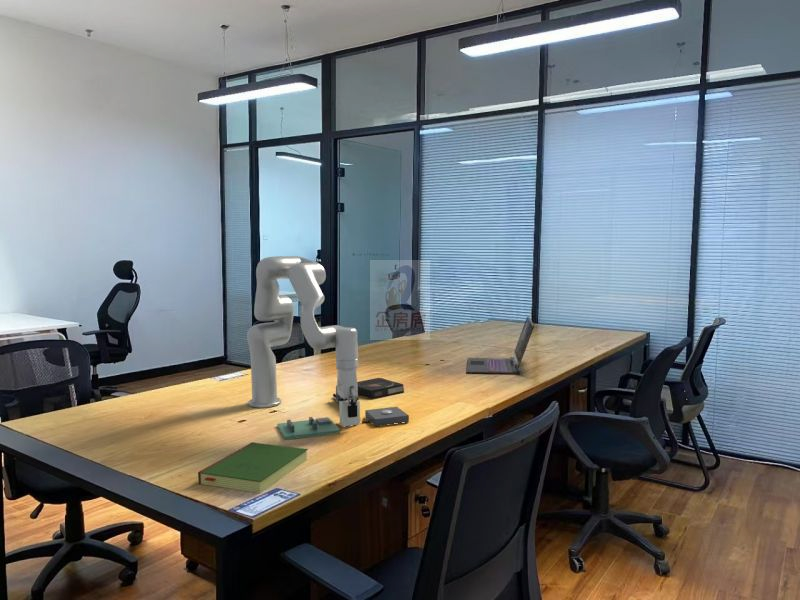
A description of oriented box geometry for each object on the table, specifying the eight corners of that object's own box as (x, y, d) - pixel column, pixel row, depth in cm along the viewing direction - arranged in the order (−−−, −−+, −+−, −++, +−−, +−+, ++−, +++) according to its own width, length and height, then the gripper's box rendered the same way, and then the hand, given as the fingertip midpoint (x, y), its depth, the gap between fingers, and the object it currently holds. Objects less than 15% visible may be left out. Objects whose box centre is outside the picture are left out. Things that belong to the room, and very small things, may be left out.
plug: (339, 423, 202) (339, 401, 201) (357, 421, 204) (357, 399, 203) (342, 427, 198) (342, 404, 197) (361, 424, 200) (360, 402, 199)
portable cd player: (372, 400, 233) (372, 390, 233) (348, 392, 246) (348, 383, 246) (404, 393, 244) (404, 384, 243) (379, 386, 257) (379, 377, 256)
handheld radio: (351, 414, 214) (329, 398, 236) (359, 413, 215) (337, 397, 238) (351, 396, 213) (330, 382, 236) (360, 395, 215) (338, 381, 237)
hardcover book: (252, 454, 174) (252, 442, 174) (308, 461, 168) (307, 448, 168) (196, 487, 151) (196, 473, 151) (258, 496, 145) (258, 482, 144)
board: (277, 426, 200) (277, 417, 199) (328, 420, 206) (328, 412, 206) (284, 439, 186) (284, 430, 185) (339, 432, 192) (339, 423, 192)
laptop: (468, 360, 312) (467, 316, 310) (528, 361, 308) (528, 316, 306) (466, 375, 278) (466, 325, 276) (534, 376, 274) (534, 325, 271)
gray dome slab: (356, 418, 208) (356, 410, 208) (396, 413, 213) (396, 405, 213) (366, 427, 197) (366, 419, 196) (408, 422, 202) (408, 414, 202)
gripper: (330, 360, 205) (331, 408, 207) (343, 369, 189) (344, 421, 191) (350, 358, 208) (352, 406, 209) (365, 367, 192) (366, 418, 193)
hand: (348, 413), depth 200 cm, fingers open, 9 cm apart
